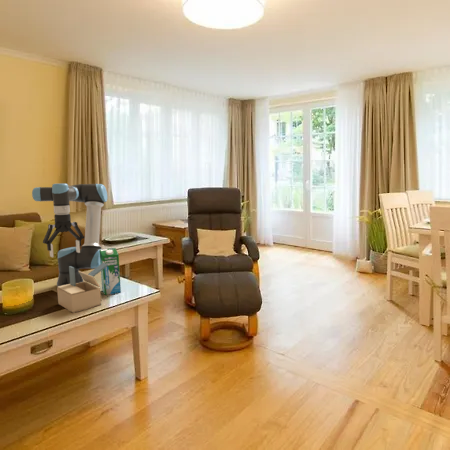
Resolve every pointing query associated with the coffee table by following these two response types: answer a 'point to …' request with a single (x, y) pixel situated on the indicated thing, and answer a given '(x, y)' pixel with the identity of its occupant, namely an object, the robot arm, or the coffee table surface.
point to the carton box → (80, 298)
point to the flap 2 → (93, 274)
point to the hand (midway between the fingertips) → (65, 254)
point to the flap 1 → (71, 284)
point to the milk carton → (110, 271)
